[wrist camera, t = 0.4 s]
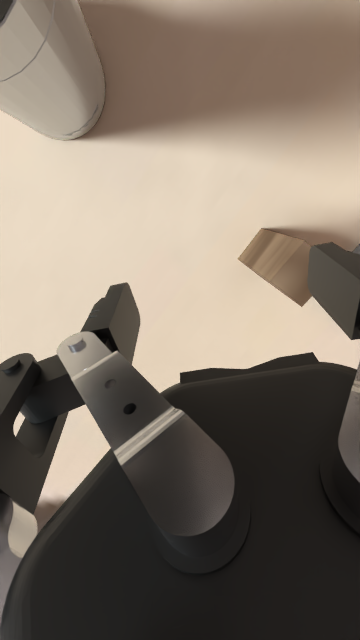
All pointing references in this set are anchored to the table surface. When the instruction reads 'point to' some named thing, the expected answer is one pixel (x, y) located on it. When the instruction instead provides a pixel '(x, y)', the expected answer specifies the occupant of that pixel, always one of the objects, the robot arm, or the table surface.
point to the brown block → (280, 263)
